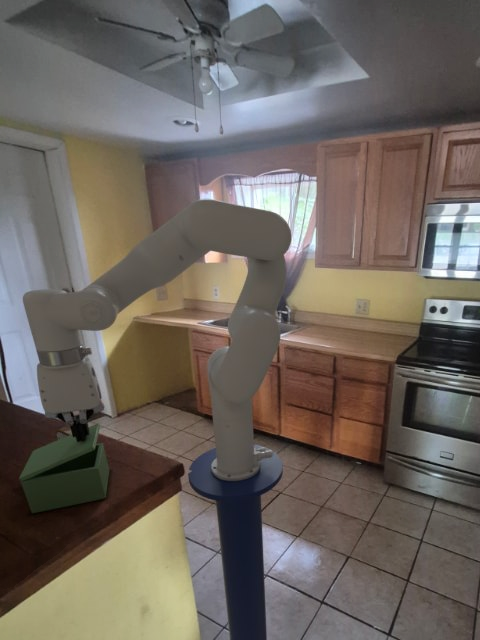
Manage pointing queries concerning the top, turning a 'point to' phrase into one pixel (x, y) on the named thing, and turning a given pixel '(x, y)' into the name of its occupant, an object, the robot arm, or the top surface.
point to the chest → (69, 482)
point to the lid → (59, 453)
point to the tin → (63, 432)
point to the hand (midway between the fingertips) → (82, 438)
